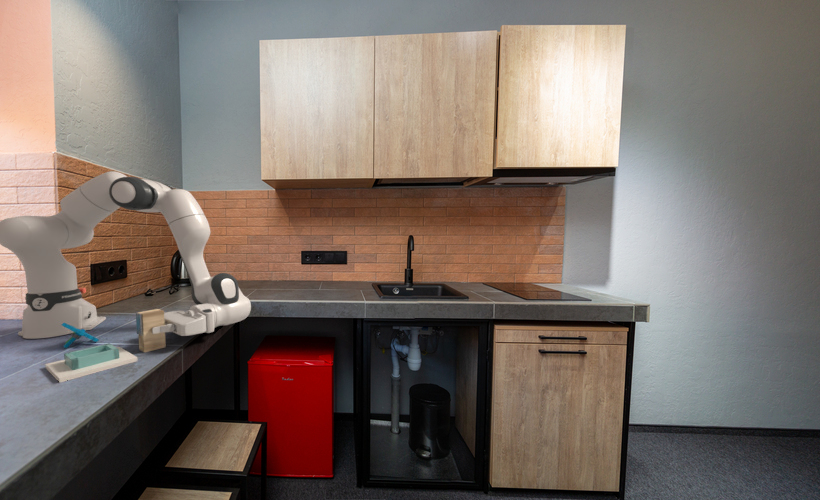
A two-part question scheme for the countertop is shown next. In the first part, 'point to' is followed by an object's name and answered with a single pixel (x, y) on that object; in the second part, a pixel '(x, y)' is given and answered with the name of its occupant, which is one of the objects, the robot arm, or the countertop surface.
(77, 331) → the blue crossed bar frame
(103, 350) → the socket base
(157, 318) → the block
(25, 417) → the countertop surface
